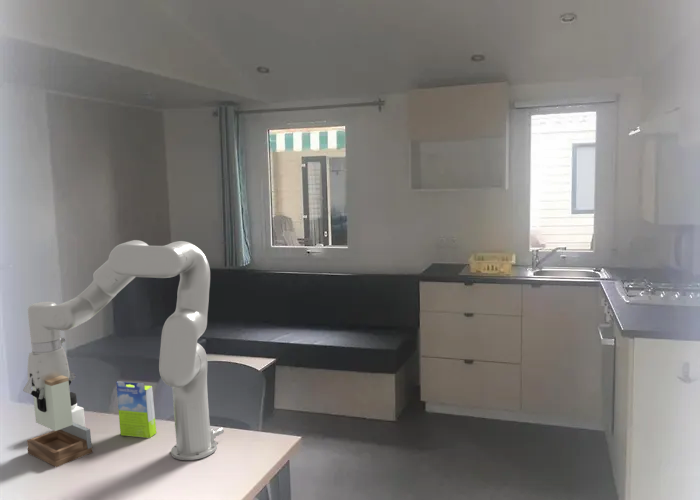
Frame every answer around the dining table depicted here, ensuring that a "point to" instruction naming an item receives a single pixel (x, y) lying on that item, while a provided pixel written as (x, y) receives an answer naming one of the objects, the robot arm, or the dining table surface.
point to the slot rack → (61, 445)
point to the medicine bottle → (76, 411)
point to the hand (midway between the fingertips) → (52, 407)
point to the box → (136, 409)
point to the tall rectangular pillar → (55, 404)
